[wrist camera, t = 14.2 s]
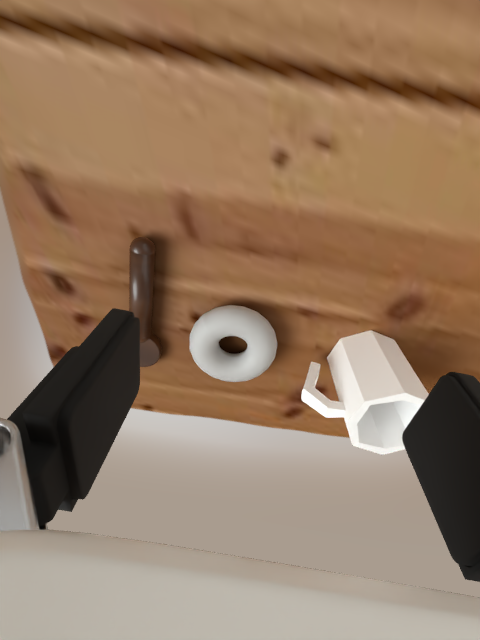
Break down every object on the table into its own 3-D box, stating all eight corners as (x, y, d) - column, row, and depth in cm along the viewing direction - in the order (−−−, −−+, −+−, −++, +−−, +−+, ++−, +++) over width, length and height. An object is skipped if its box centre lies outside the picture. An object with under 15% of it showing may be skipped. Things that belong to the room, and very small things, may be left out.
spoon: (122, 229, 31) (112, 236, 29) (170, 239, 31) (164, 247, 29) (123, 357, 39) (116, 369, 37) (161, 364, 40) (155, 376, 38)
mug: (406, 330, 35) (452, 394, 27) (388, 387, 40) (422, 456, 31) (298, 328, 36) (310, 389, 27) (293, 384, 40) (301, 451, 32)
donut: (247, 380, 41) (294, 327, 36) (245, 400, 38) (297, 345, 33) (178, 345, 38) (218, 283, 33) (171, 363, 35) (214, 298, 30)
